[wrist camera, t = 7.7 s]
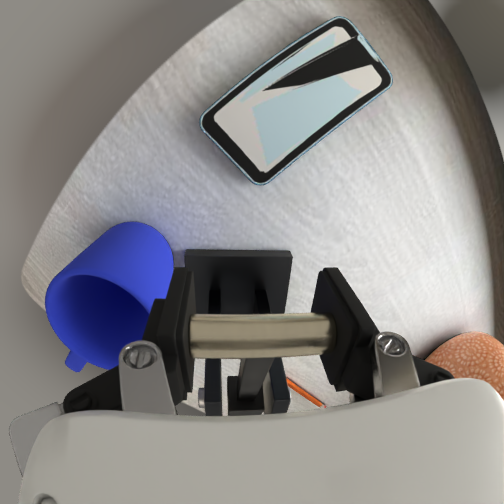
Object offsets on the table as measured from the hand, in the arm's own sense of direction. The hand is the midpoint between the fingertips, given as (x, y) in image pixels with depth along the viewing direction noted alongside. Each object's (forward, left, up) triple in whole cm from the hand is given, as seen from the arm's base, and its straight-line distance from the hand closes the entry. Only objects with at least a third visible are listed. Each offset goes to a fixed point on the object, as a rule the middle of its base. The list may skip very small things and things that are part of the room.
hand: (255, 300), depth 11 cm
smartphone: (-9, +4, -13) cm, 16 cm away
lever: (+4, 0, -1) cm, 5 cm away
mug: (+6, -10, -13) cm, 17 cm away
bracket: (+9, 0, -12) cm, 16 cm away
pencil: (+23, +8, -13) cm, 27 cm away
